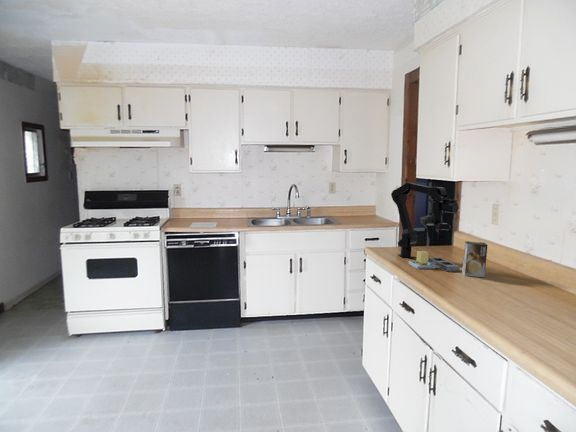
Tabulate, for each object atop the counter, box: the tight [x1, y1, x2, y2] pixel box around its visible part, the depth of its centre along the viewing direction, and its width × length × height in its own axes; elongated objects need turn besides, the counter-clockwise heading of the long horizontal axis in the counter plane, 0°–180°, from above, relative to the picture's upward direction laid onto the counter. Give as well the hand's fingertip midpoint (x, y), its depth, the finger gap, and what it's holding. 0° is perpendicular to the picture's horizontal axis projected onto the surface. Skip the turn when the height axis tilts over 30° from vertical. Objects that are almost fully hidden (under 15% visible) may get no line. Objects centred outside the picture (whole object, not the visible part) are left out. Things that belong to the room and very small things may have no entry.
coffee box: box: [461, 240, 488, 278], centre depth 191 cm, size 9×6×16 cm
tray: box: [408, 260, 437, 270], centre depth 204 cm, size 10×10×2 cm
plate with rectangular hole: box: [428, 257, 461, 273], centre depth 205 cm, size 18×7×2 cm, turn 9°
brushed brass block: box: [415, 250, 429, 266], centre depth 204 cm, size 4×4×7 cm
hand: (434, 239), depth 209 cm, fingers open, 9 cm apart
